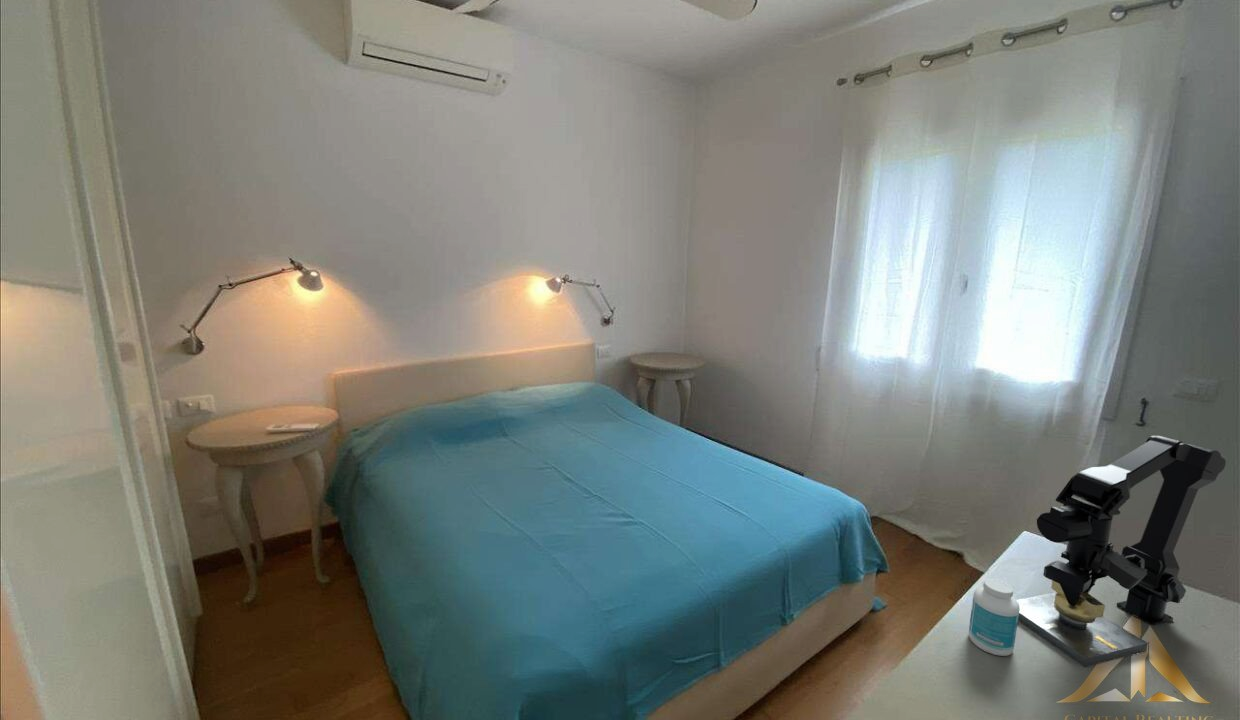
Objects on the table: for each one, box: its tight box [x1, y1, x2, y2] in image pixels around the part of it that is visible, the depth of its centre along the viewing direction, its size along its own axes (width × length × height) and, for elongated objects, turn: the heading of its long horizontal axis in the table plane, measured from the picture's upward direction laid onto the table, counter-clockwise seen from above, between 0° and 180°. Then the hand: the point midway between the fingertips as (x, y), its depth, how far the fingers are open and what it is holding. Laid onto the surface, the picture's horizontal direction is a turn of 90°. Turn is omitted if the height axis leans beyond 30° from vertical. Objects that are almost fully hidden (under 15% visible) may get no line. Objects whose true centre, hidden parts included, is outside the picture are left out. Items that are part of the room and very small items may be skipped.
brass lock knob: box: [1050, 580, 1106, 623], centre depth 100 cm, size 9×6×5 cm
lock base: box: [1016, 591, 1149, 668], centre depth 101 cm, size 16×16×4 cm
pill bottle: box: [968, 577, 1020, 657], centre depth 97 cm, size 8×7×14 cm
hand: (1076, 601), depth 100 cm, fingers closed on brass lock knob, 4 cm apart
